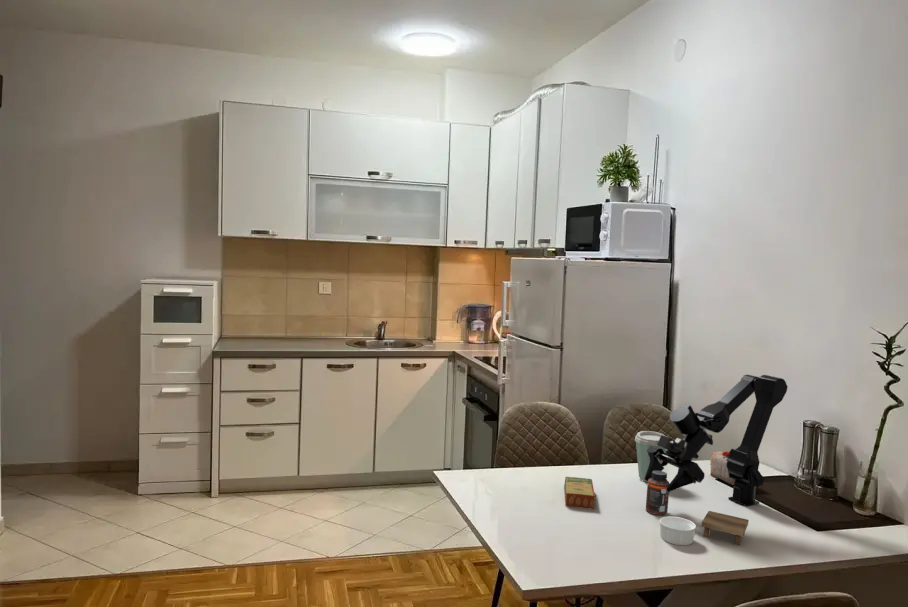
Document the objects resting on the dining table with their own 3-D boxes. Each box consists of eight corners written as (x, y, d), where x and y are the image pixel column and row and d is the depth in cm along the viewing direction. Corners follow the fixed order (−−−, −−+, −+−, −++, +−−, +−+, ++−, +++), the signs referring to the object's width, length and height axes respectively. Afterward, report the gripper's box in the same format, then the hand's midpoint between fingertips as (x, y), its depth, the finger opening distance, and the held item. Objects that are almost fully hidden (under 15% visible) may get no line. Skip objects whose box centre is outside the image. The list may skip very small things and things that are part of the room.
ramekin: (690, 549, 168) (691, 532, 167) (654, 540, 172) (655, 523, 172) (698, 538, 175) (699, 522, 175) (663, 529, 180) (664, 513, 180)
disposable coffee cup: (669, 486, 216) (673, 439, 215) (635, 484, 216) (639, 437, 215) (660, 475, 227) (663, 431, 226) (627, 473, 227) (631, 429, 226)
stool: (707, 525, 185) (708, 510, 184) (747, 534, 180) (748, 519, 179) (700, 536, 176) (701, 521, 176) (741, 547, 171) (743, 531, 171)
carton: (564, 507, 193) (565, 492, 192) (563, 488, 209) (564, 475, 208) (594, 510, 192) (595, 495, 191) (591, 491, 207) (592, 477, 207)
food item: (705, 474, 232) (707, 446, 231) (724, 473, 234) (726, 445, 234) (733, 488, 219) (736, 457, 218) (753, 486, 222) (756, 457, 221)
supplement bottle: (668, 517, 189) (671, 477, 188) (646, 514, 190) (649, 474, 190) (666, 509, 195) (669, 470, 194) (644, 506, 196) (647, 468, 195)
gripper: (654, 418, 201) (620, 456, 198) (700, 434, 184) (664, 477, 181) (673, 443, 205) (640, 481, 201) (719, 461, 188) (685, 503, 184)
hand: (656, 485), depth 192 cm, fingers open, 9 cm apart
